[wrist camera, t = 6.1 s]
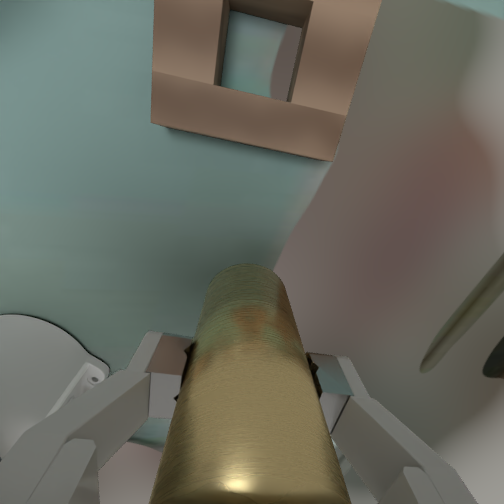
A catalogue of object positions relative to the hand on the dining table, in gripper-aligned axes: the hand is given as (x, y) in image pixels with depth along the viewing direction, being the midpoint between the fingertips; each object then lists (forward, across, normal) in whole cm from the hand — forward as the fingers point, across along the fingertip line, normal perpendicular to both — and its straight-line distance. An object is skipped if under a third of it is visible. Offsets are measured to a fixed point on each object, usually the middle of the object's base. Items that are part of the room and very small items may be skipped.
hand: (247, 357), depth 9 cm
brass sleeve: (+4, 0, 0) cm, 4 cm away
